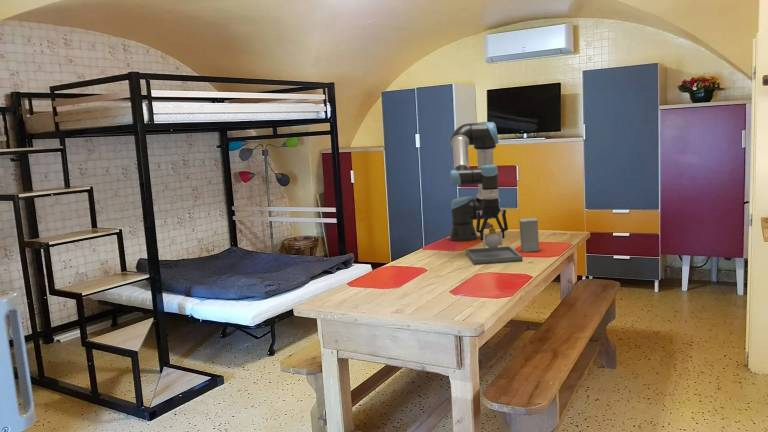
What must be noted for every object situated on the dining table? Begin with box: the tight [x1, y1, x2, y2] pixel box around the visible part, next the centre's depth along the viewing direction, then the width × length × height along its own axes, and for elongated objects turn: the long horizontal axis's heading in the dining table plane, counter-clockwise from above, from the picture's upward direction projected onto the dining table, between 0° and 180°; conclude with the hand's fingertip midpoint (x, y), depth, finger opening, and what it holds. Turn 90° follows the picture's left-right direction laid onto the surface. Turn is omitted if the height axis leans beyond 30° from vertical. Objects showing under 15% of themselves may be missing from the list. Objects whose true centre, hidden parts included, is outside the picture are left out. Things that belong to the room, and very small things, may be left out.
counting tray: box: [465, 245, 523, 266], centre depth 291 cm, size 24×22×2 cm
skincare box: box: [518, 217, 540, 253], centre depth 300 cm, size 8×7×16 cm
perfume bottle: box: [484, 221, 501, 248], centre depth 289 cm, size 8×10×12 cm
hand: (492, 246), depth 290 cm, fingers closed on perfume bottle, 7 cm apart
